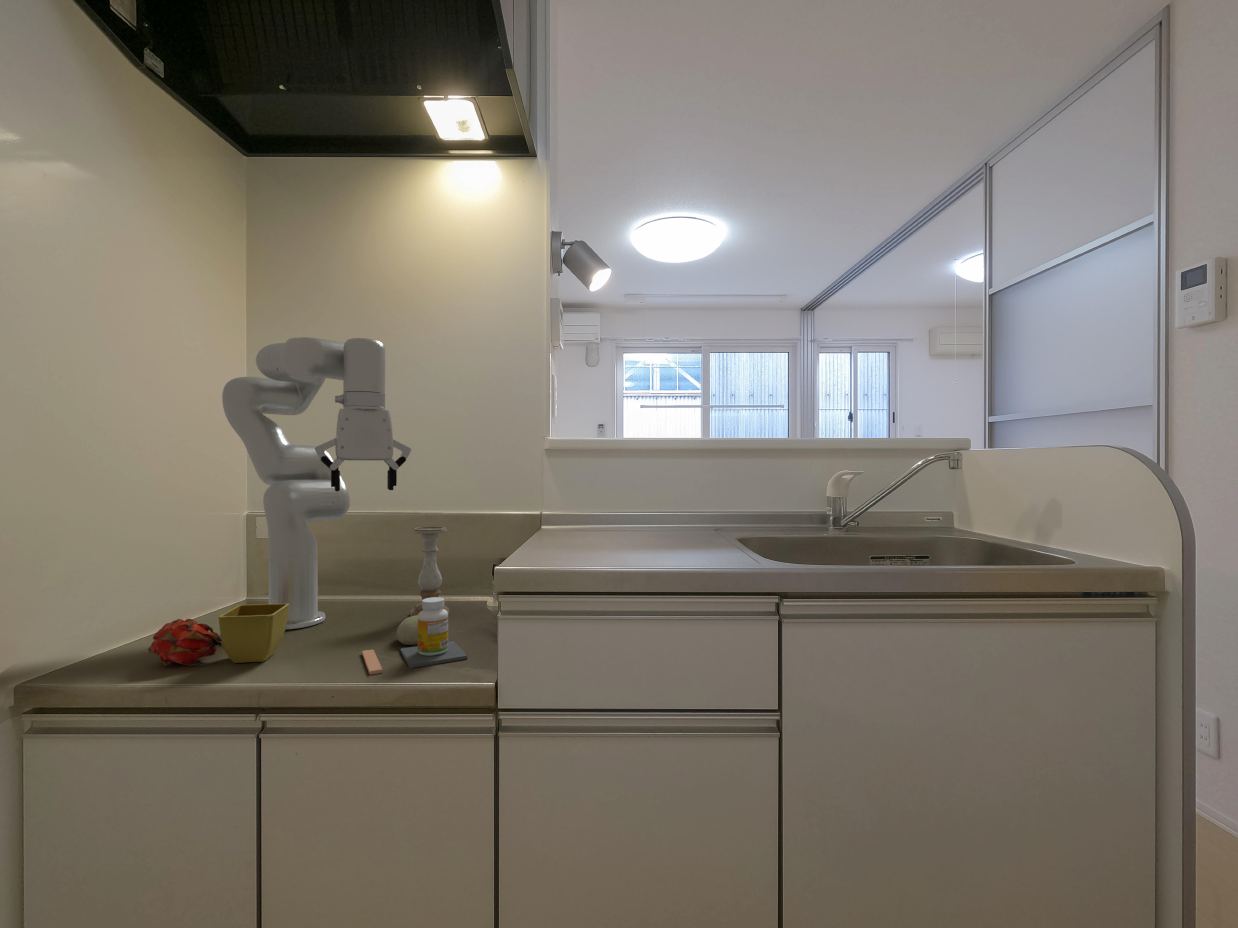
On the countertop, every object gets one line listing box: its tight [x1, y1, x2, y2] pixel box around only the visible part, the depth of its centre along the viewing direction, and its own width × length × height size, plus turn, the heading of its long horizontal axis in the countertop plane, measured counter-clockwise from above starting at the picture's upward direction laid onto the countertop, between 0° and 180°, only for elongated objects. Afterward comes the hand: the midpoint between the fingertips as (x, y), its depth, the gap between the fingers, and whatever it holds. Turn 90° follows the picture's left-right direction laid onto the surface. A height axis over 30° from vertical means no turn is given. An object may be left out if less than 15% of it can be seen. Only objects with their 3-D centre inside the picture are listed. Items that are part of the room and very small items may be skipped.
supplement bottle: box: [417, 596, 449, 656], centre depth 109 cm, size 5×5×10 cm
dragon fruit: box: [147, 618, 222, 667], centre depth 104 cm, size 8×8×12 cm
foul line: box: [361, 648, 383, 675], centre depth 104 cm, size 12×2×1 cm, turn 29°
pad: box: [399, 640, 468, 669], centre depth 109 cm, size 10×10×1 cm
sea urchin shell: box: [396, 615, 418, 646], centre depth 118 cm, size 9×8×8 cm
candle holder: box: [409, 525, 450, 617], centre depth 138 cm, size 9×9×20 cm
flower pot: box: [218, 603, 289, 664], centre depth 107 cm, size 9×9×9 cm
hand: (364, 490), depth 115 cm, fingers open, 9 cm apart
